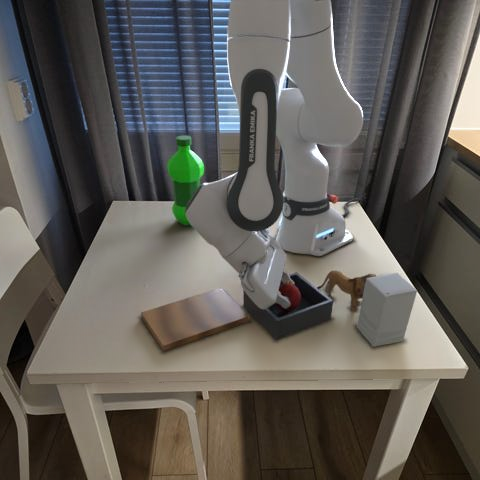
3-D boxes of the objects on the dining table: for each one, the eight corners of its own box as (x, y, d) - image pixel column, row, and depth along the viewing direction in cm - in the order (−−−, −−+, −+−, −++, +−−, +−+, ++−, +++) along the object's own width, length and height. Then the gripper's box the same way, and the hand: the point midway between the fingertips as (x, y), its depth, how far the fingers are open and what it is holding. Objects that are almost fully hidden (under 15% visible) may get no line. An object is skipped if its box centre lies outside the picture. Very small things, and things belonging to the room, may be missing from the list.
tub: (294, 289, 109) (296, 271, 106) (330, 319, 100) (333, 300, 97) (243, 307, 103) (243, 288, 100) (275, 340, 94) (277, 321, 91)
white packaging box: (404, 341, 94) (419, 290, 86) (372, 347, 92) (384, 297, 84) (385, 320, 99) (397, 271, 92) (355, 326, 98) (365, 277, 90)
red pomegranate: (297, 320, 98) (301, 290, 94) (271, 317, 99) (273, 287, 94) (300, 305, 103) (303, 275, 98) (275, 302, 104) (277, 272, 99)
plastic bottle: (166, 220, 140) (157, 136, 124) (195, 212, 145) (190, 130, 129) (183, 232, 133) (176, 145, 118) (212, 222, 138) (209, 138, 123)
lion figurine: (377, 305, 104) (385, 272, 98) (368, 317, 100) (376, 283, 95) (320, 285, 110) (325, 253, 105) (310, 295, 107) (314, 262, 102)
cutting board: (220, 292, 108) (220, 287, 107) (248, 321, 99) (248, 316, 98) (141, 317, 100) (140, 312, 99) (163, 351, 91) (163, 345, 90)
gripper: (248, 269, 84) (296, 317, 89) (265, 222, 100) (305, 265, 105) (226, 286, 88) (273, 331, 92) (245, 238, 104) (285, 279, 108)
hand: (290, 296), depth 99 cm, fingers closed on red pomegranate, 6 cm apart
